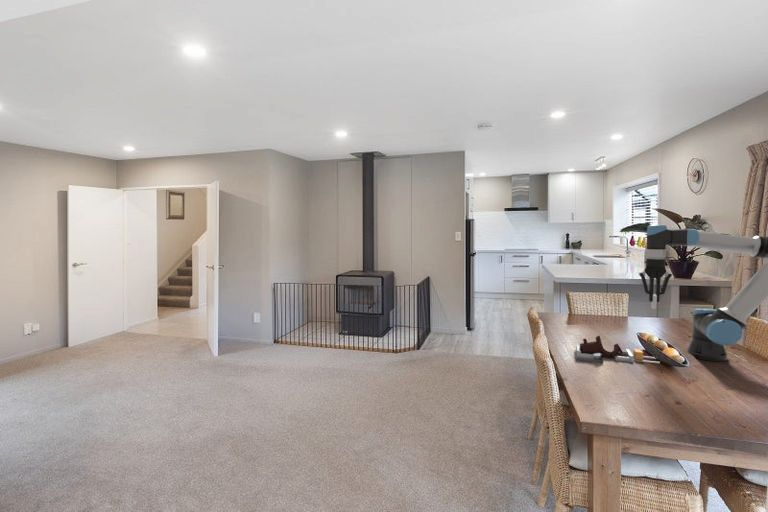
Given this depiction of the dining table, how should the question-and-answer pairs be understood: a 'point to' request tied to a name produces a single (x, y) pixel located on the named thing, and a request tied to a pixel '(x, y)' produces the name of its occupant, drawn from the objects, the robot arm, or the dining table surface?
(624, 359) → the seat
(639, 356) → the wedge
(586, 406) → the dining table surface
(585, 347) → the dark brown irregular piece
